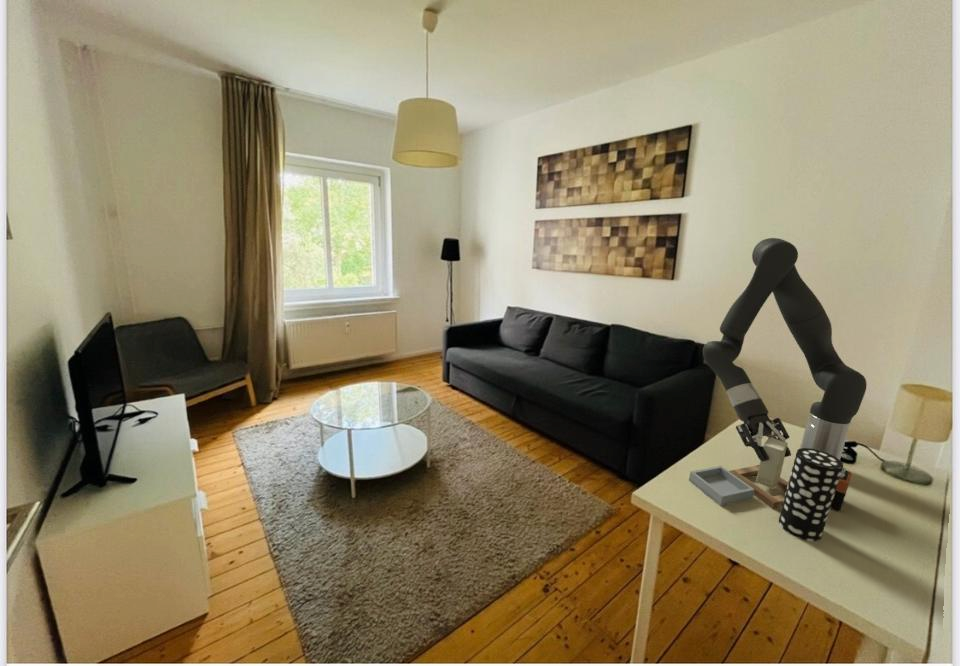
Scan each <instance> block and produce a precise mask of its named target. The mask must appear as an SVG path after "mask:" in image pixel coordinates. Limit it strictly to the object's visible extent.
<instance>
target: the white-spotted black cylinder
mask: <svg viewBox="0 0 960 666" xmlns="http://www.w3.org/2000/svg"><path fill="white" fill-rule="evenodd" d="M843 468H844V462H843V461H841V459H840V460H839V459H838V458H836V457H835V456H833V455H831V454H829V453H826V452H823V451H820V450H817V449H811V448H800V447H799V448H798V449H797V450H796V453H795V457H794V461H793V465H792V469H791V472H790V476H789V480H788V482H789V483H788V486H787V490H786V492H785V493H784V494H785V498H784V501H783V505H782V507H781V509H780V510H781V511H780V512H779V517H778V523H779V526H780V527H782V529H783V530H784V531H785V532H787V533H788V534H790V535H791V536H793V537H795V538H798V539H801V540H804V541H807V542H819V541H820V540H822V537H823V534H824V529H825V527H826V524H827V520H828V517H829V515H830V511H831V509H832V508H831V504H832V501H833V498H834V495H835V491H836V488H837V485H838V482H839V478H840V475H841V472H842V469H843Z"/></svg>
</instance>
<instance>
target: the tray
mask: <svg viewBox="0 0 960 666" xmlns="http://www.w3.org/2000/svg"><path fill="white" fill-rule="evenodd" d="M729 471H730V470H728V469H727V468H725V467H723V466H722V465H718V466H713V467H707V468H702V469H697V470H692V471H689V478H688V481H689V482H690V483H691V484H693V485H694V486H695V487H696V488H698V489H699V490H700V491H701V492H702V493H704V495H706V496H707V497H709V498H710V500H711V499H712V501H714V503H716V504H717V505H718V506H720V507H723V506H726V505H730V504H736V503H739V502H744V501H750V500H753V499H754V491H755V489H753V488H752V487H751V486H749V485H748V484H746V483H745V482H743V481H742V480H741V479H739V478H738V477H736V476H735V475H733V474H732V473H730V472H729Z"/></svg>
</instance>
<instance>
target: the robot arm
mask: <svg viewBox="0 0 960 666" xmlns="http://www.w3.org/2000/svg"><path fill="white" fill-rule="evenodd" d="M751 253H752V255H751V259H752V262H753V264H754V265H755V269H754V272H753V274H752V277H751V279H750V281H749V282H748V283H747V284H748V285H747V286H746V287H745V289H744V290H743V292H742V293H741V294H740V295H739V296H738V297H737V298H736V300H735V301H734V302H733V303H732V305H731V306H730V308H729V309H728V311H727V313H726V315H725V317H724V319H723V320H722V322H721V324H720V326H719V332H720V333H721V334H722V338H721V340H711V341H707V342H706V343H705V344H704V346H703V348H702V356H703V359H704V361H705V363H706V364H707V366H708V367H709V368H710V369H711V370H712V371H713V373H714V374H715V375H716V376H717V377H718V378H719V380H720V381H721V384H722V386H723V388H724V389H725V392H726V394H727V396H728V399H729V402H730V404H731V406H732V407H733V409H734V411H735V413H736V415H737V417H738V419H739V421H741V422H743V423H741V424H738V425H736V426H735V430H737V433H738V434H739V437H740V439H741V440H742V443H743V445H744V447H747V448H748V447H750V448H752V449H753V450H754V452H755V453H756V456H757V458H758V459H759V460H761V461H762V462H763V461H767V460H769V457H768V455H767V453H766V452H765V450H764V448H763V446H764V445H762V440H763V438H764V437H767V439H768V438H769V437H772V438H775V439H778V440H781V441H784V442H786V440H787V439H790V435H789V433H788V431H787V429H786V427H785V426H784V424H783V422H782V420H781V419H780V418H779V417H776V418H773V419H771V418H770V417H769V410H768V408H767V406H766V404H765V403H764V401H763V399H762V397H761V395H760V394H759V392H758V390H757V389H756V387H755V386H754V384H753V382H751V379H750V378H749V376H748V374H747V372H746V371H745V370H744V368H742V367H741V366H738V365H736V364H735V363H734V361H735V360H737V358H738V357H739V356H740V354H741V351H742V348H743V345H744V341H745V337H746V335H747V333H748V331H749V329H750V328H751V326H752V325H753V323H754V321H755V319H756V318H757V316H758V314H759V312H760V311H761V308H763V306H764V304H766V301H767V300H768V298H769V297H770V296H771V294H773V297H774V299H775V302H776V305H777V308H778V309H779V311H780V314H781V316H782V318H783V321H784V322H785V324H786V326H787V328H788V330H789V331H790V333H791V335H792V337H793V339H794V340H795V342H796V343H797V345H798V347H799V348H800V351H801V352H802V353H803V355H804V358H805V360H806V362H807V364H808V365H807V366H808V368H809V371H810V375H811V376H812V379H813V381H814V383H815V385H816V386H817V387H818V388H819V389H821V390H822V391H823V396H822V399H821V401H816V402H813V403H812V404H811V406H810V410H809V414H808V417H807V421H806V425H805V429H804V431H803V436H802V439H801V444H800V447H799V449H800V448H811V449H817V450H820V451H823V452H826V453H829V454H831V455H833V456H835V457H836V458H838V459H839V460H840V461H841V457H842V455H843V451H844V449H845V444H846V443H845V442H846V439H847V435H848V433H849V430H850V429H849V428H850V424H851V422H852V419H853V418H854V417H855V416H856V415H857V413H858V411H860V408H861V404H862V403H863V399H864V397H865V394H866V391H867V379H866V377H865V376H864V375H863V374H862V373H860V372H859V371H857V370H855V369H854V368H852V367H850V366H848V365H846V364H845V363H844V361H843V360H842V359H841V357H840V356H839V354H838V353H837V351H836V349H835V347H834V345H833V337H832V335H833V333H832V332H833V328H832V322H831V321H830V319H829V315H828V314H827V311H826V309H825V308H824V306H823V305H822V303H821V301H820V300H819V299H818V297H817V296H816V295H815V293H814V292H813V290H812V289H811V288H809V286H808V285H807V283H805V281H804V280H803V279H802V277H801V275H800V274H799V272H798V270H797V266H796V263H797V260H798V257H799V252H798V249H797V247H796V246H795V245H794V244H793V243H791V242H789V241H787V240H785V239H781V238H776V237H769V238H768V237H767V238H765V239H762V240H760V241H759V242H758V243H757V244H756V245H755V246H754V248H753V250H752V252H751ZM791 456H792V452H791V450H790V449H789V446H788V445H787V448H786V453H785V458H786V457H791Z"/></svg>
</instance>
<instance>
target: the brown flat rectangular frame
mask: <svg viewBox="0 0 960 666" xmlns="http://www.w3.org/2000/svg"><path fill="white" fill-rule="evenodd" d="M759 465H760V464H756V465H752V466H751V465H750V466H747V467H746V466H745V467H742V468H736V469H732V470H731V469H730V470H728V471H729V472H730V473H732V474H733V475H735V476H736V477H738V478H739V479H741V480H742V481H743V482H745V483H746V484H748V485H749V486H751V487H752V488H753V489H755V491H754V495H753V497H755V498H756V499H758V500H760V501H761V502H762V503H763V504H765V505H766V506H768V507H769V508H770V509H771V510H775V509H778V508H779V509H780V508H782V505H783V501H784V498H785V494H786V490H787V486H788V483H789V481H787V480H785V479H783V478H782V477H781V476H780V480H779V482H778V483H777V485H776V486H775V487H777V488H779V489H780V490H782V491H783V492H784V493H782V494H779V495H778V494H777V495H772V494H770V493H768V492H767V491H765V490H764V489H762V488H761V487H760V486H758V485H757V484H755V483H754V482H752V480H749V479H748V478H755V477H757V475H758V470H759Z"/></svg>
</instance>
